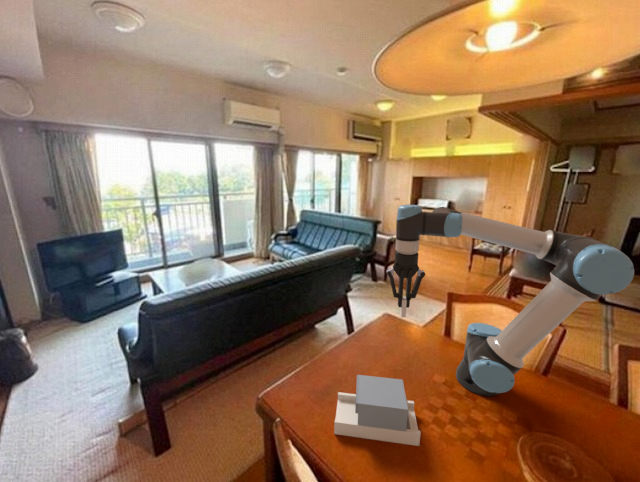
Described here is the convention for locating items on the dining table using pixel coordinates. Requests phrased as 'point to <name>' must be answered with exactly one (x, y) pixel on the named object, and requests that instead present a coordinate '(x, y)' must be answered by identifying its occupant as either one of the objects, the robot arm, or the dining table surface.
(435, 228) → the robot arm
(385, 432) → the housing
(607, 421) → the dining table surface
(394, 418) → the lid
